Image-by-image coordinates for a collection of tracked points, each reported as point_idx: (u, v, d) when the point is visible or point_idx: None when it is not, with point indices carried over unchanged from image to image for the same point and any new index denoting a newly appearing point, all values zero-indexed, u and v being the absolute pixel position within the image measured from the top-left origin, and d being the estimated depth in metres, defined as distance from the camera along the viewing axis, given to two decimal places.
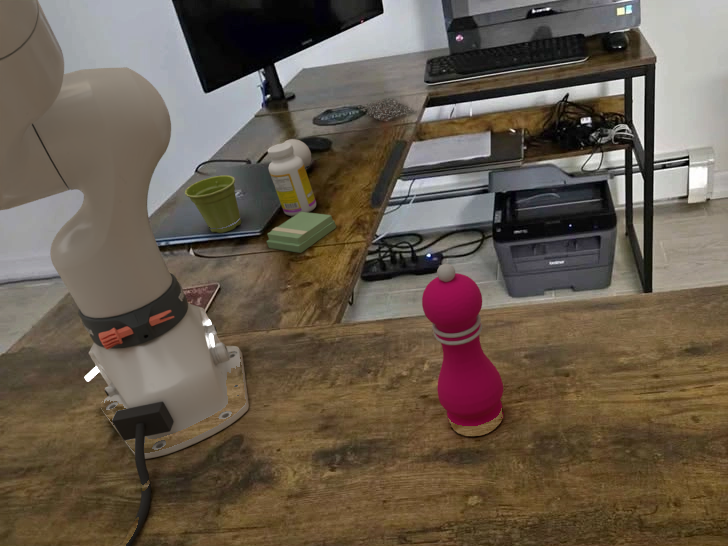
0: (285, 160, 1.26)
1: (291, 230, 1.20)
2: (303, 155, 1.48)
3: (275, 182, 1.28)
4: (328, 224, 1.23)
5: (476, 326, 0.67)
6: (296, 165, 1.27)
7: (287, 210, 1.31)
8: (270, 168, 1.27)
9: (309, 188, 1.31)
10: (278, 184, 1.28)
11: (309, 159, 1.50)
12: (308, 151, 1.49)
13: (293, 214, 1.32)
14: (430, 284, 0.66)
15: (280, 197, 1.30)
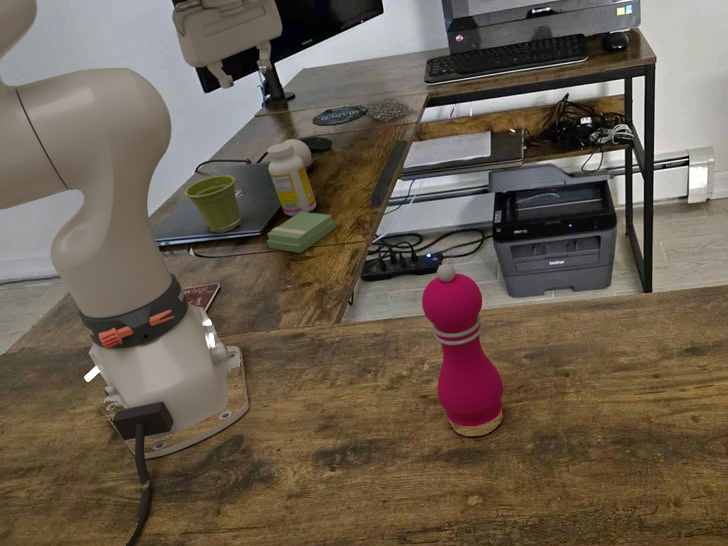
0: (285, 160, 1.26)
1: (291, 230, 1.20)
2: (303, 155, 1.48)
3: (275, 182, 1.28)
4: (328, 224, 1.23)
5: (476, 326, 0.67)
6: (296, 165, 1.27)
7: (287, 210, 1.31)
8: (270, 168, 1.27)
9: (309, 188, 1.31)
10: (278, 184, 1.28)
11: (309, 159, 1.50)
12: (308, 151, 1.49)
13: (293, 214, 1.32)
14: (430, 284, 0.66)
15: (280, 197, 1.30)
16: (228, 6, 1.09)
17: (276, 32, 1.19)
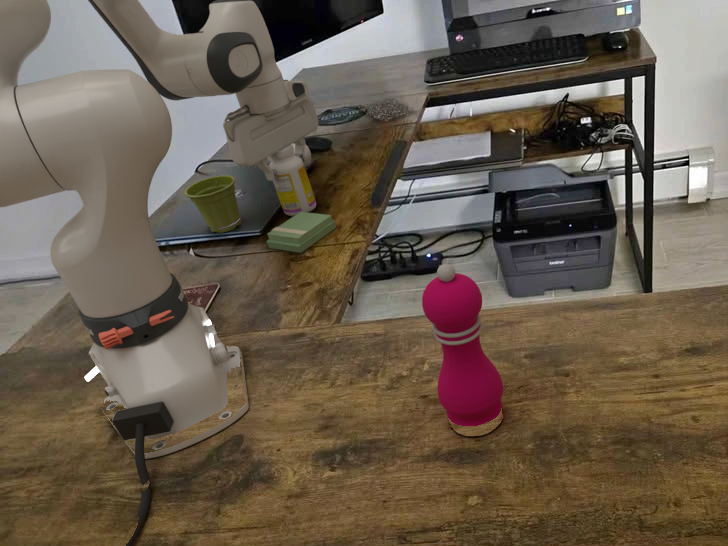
0: (285, 160, 1.26)
1: (291, 230, 1.20)
2: None
3: (275, 182, 1.28)
4: (328, 224, 1.23)
5: (476, 326, 0.67)
6: (296, 165, 1.27)
7: (287, 210, 1.31)
8: None
9: (309, 188, 1.31)
10: (278, 184, 1.28)
11: (309, 159, 1.50)
12: (308, 151, 1.49)
13: (293, 214, 1.32)
14: (430, 284, 0.66)
15: (280, 197, 1.30)
16: (272, 111, 1.20)
17: (313, 127, 1.31)
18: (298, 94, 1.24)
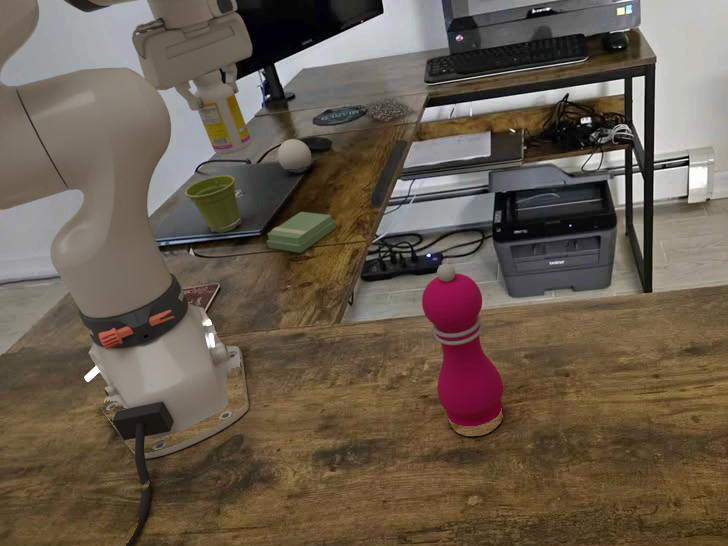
0: (210, 86, 1.11)
1: (291, 230, 1.20)
2: (303, 155, 1.48)
3: (201, 113, 1.13)
4: (328, 224, 1.23)
5: (476, 326, 0.67)
6: (224, 93, 1.11)
7: (216, 147, 1.16)
8: None
9: (241, 122, 1.16)
10: (204, 115, 1.13)
11: (309, 159, 1.50)
12: (308, 151, 1.49)
13: (223, 151, 1.16)
14: (430, 284, 0.66)
15: (208, 131, 1.15)
16: (192, 27, 1.05)
17: (246, 53, 1.15)
18: (224, 10, 1.09)
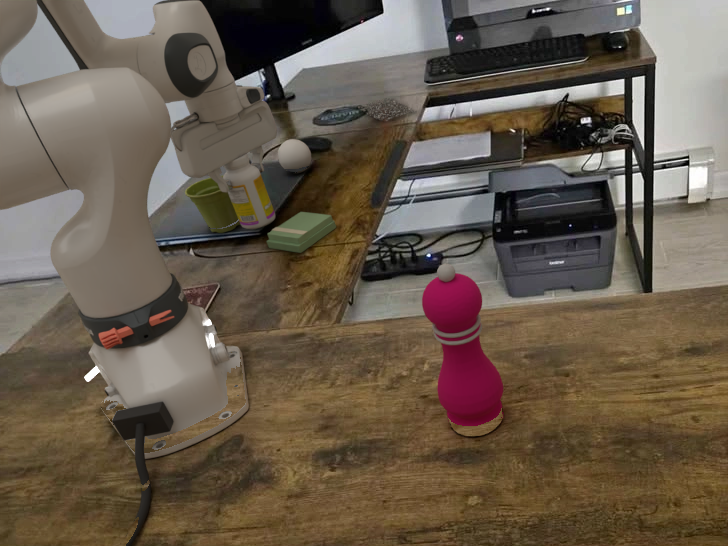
0: (239, 170, 1.19)
1: (291, 230, 1.20)
2: (303, 155, 1.48)
3: (230, 193, 1.21)
4: (328, 224, 1.23)
5: (476, 326, 0.67)
6: (251, 176, 1.20)
7: (243, 223, 1.24)
8: None
9: (267, 200, 1.24)
10: (233, 196, 1.21)
11: (309, 159, 1.50)
12: (308, 151, 1.49)
13: (250, 227, 1.24)
14: (430, 284, 0.66)
15: (236, 209, 1.23)
16: (224, 119, 1.13)
17: (271, 135, 1.24)
18: (253, 100, 1.17)
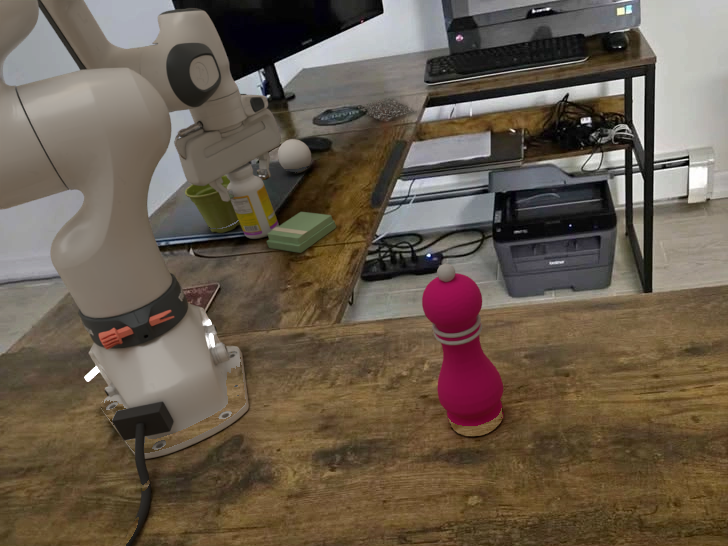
0: (243, 181, 1.20)
1: (291, 230, 1.20)
2: (303, 155, 1.48)
3: (234, 204, 1.22)
4: (328, 224, 1.23)
5: (476, 326, 0.67)
6: (255, 186, 1.21)
7: (247, 233, 1.25)
8: None
9: (270, 210, 1.25)
10: (237, 206, 1.22)
11: (309, 159, 1.50)
12: (308, 151, 1.49)
13: (253, 237, 1.26)
14: (430, 284, 0.66)
15: (239, 219, 1.24)
16: (228, 128, 1.14)
17: (275, 143, 1.24)
18: (257, 109, 1.18)
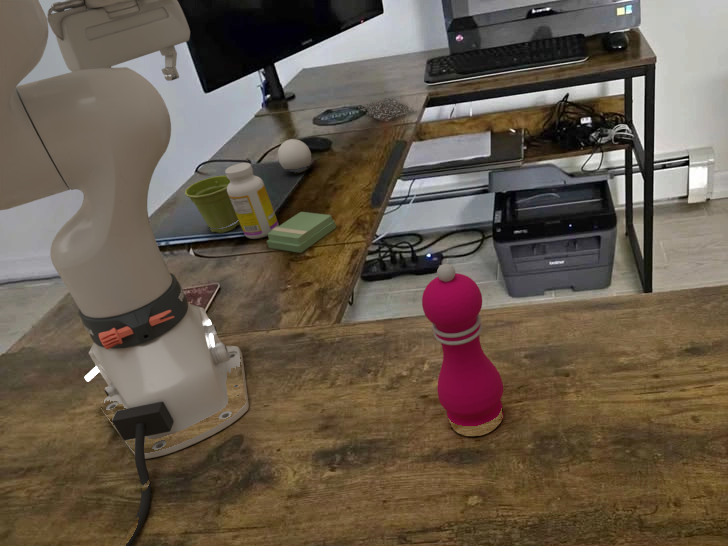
0: (243, 181, 1.20)
1: (291, 230, 1.20)
2: (303, 155, 1.48)
3: (234, 204, 1.22)
4: (328, 224, 1.23)
5: (476, 326, 0.67)
6: (255, 186, 1.21)
7: (247, 233, 1.25)
8: (228, 189, 1.21)
9: (270, 210, 1.25)
10: (237, 206, 1.22)
11: (309, 159, 1.50)
12: (308, 151, 1.49)
13: (253, 237, 1.26)
14: (430, 284, 0.66)
15: (239, 219, 1.24)
16: (117, 6, 0.97)
17: (182, 37, 1.07)
18: None
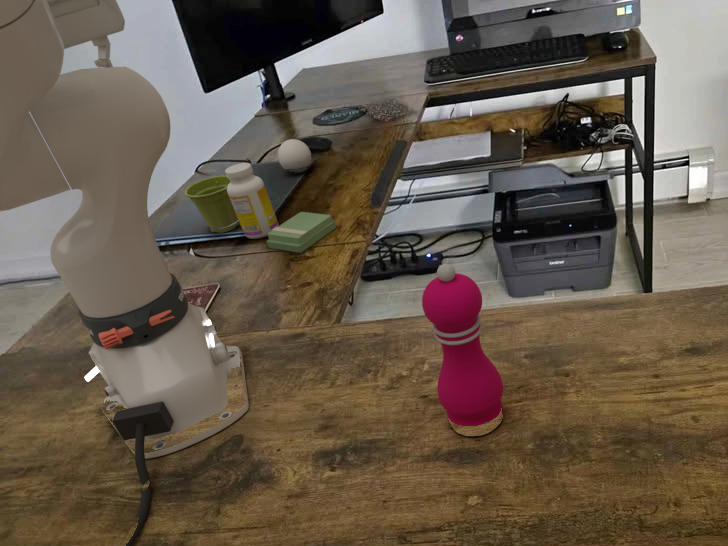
0: (243, 181, 1.20)
1: (291, 230, 1.20)
2: (303, 155, 1.48)
3: (234, 204, 1.22)
4: (328, 224, 1.23)
5: (476, 326, 0.67)
6: (255, 186, 1.21)
7: (247, 233, 1.25)
8: (228, 189, 1.21)
9: (270, 210, 1.25)
10: (237, 206, 1.22)
11: (309, 159, 1.50)
12: (308, 151, 1.49)
13: (253, 237, 1.26)
14: (430, 284, 0.66)
15: (239, 219, 1.24)
16: None
17: (116, 26, 1.00)
18: None
